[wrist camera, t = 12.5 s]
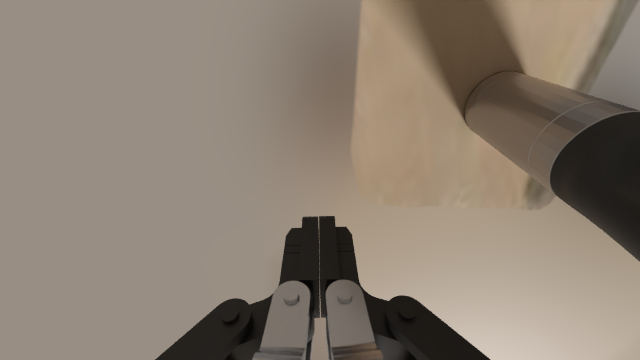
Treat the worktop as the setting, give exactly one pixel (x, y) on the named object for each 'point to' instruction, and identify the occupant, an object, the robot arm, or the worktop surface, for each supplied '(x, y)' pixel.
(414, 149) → the worktop surface
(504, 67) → the worktop surface
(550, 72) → the worktop surface
